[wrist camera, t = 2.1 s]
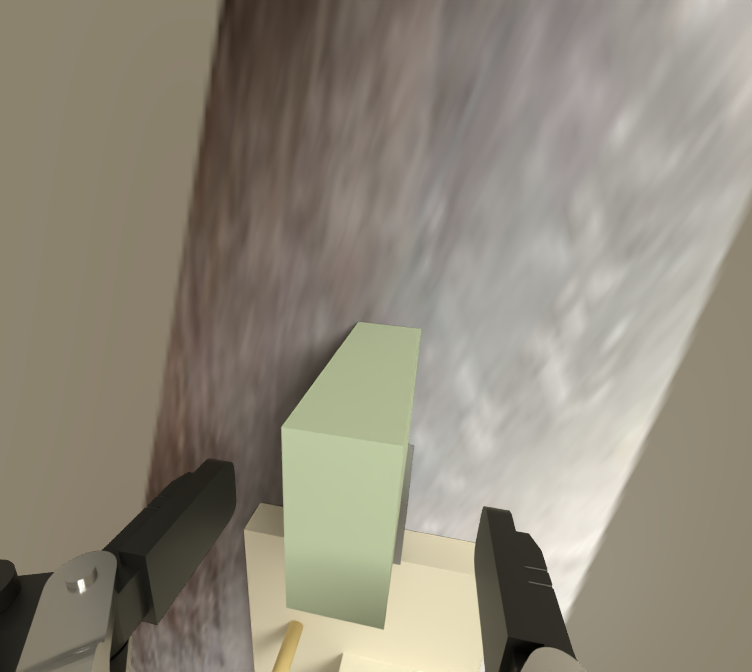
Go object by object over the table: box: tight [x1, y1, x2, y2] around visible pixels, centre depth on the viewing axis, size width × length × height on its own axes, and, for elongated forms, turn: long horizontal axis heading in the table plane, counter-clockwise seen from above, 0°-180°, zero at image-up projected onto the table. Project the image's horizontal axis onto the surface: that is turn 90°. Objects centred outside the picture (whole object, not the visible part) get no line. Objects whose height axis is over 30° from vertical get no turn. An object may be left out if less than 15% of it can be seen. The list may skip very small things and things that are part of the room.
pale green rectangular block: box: [281, 322, 421, 630], centre depth 14 cm, size 4×10×9 cm, turn 176°
